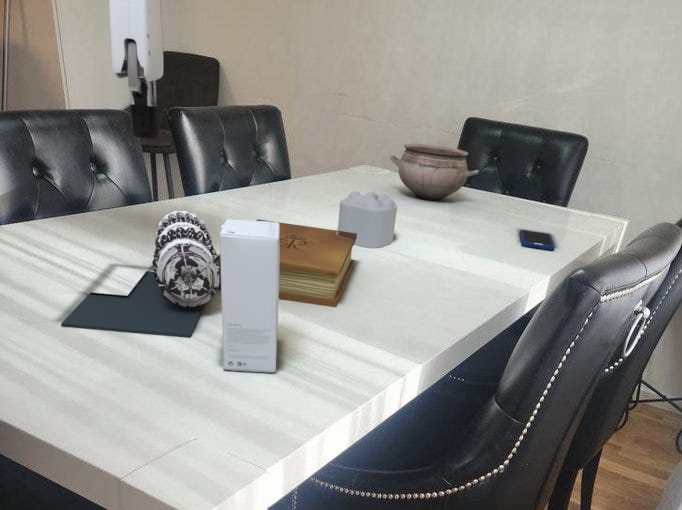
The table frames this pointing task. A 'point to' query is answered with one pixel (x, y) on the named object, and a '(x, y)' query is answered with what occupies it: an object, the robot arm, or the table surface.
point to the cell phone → (536, 240)
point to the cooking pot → (432, 170)
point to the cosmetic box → (250, 294)
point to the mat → (136, 312)
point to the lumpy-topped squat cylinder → (368, 218)
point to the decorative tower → (185, 260)
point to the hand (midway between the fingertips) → (146, 136)
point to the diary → (312, 263)
